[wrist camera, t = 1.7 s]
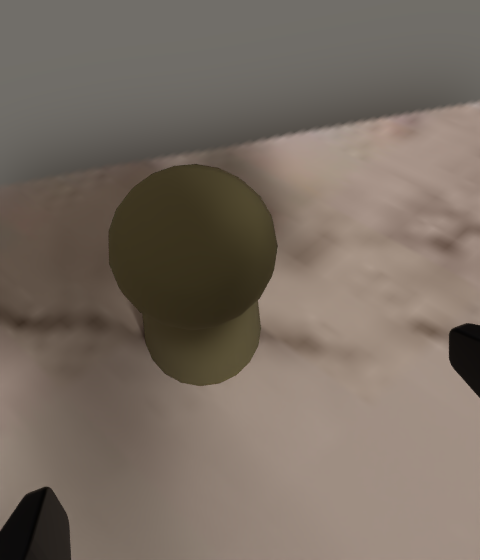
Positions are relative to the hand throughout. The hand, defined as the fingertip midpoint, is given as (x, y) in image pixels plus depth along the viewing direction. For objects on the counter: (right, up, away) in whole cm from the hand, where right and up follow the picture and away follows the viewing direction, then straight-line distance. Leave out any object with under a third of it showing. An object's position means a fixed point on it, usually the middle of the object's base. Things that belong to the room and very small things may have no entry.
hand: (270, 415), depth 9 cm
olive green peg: (-3, 0, +13) cm, 13 cm away
